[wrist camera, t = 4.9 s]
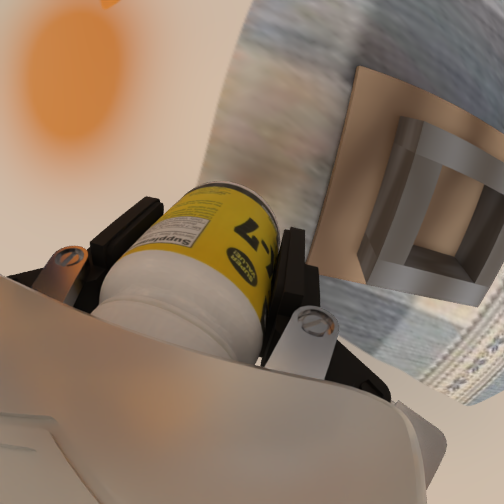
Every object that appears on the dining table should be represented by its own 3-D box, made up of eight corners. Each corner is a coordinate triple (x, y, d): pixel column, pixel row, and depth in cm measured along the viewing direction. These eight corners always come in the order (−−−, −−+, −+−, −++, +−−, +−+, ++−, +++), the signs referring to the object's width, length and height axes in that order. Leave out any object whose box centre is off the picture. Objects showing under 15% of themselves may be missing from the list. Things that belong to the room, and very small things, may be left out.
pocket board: (528, 154, 15) (563, 171, 11) (467, 299, 23) (486, 332, 19) (356, 67, 16) (376, 57, 11) (305, 264, 24) (306, 303, 20)
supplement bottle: (289, 272, 13) (265, 456, 6) (193, 280, 14) (118, 431, 7) (269, 168, 11) (201, 328, 4) (161, 189, 12) (21, 318, 5)
